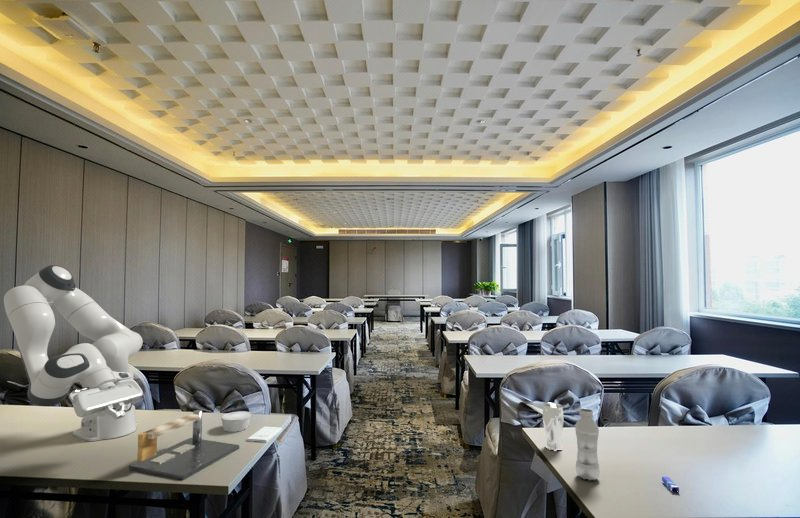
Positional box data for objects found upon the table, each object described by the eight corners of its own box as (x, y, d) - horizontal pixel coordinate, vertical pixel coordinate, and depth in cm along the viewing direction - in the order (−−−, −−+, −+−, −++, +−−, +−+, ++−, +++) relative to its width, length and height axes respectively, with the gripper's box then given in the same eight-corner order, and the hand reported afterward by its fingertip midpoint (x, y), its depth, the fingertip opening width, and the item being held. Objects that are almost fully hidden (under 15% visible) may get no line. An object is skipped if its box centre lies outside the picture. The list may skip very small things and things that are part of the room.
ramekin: (235, 422, 170) (235, 409, 170) (256, 425, 166) (257, 412, 166) (214, 431, 159) (214, 417, 160) (236, 435, 155) (236, 421, 155)
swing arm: (190, 436, 145) (191, 413, 145) (199, 437, 143) (199, 415, 144) (137, 460, 125) (138, 434, 126) (146, 462, 124) (147, 435, 124)
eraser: (671, 493, 112) (671, 486, 112) (662, 483, 118) (661, 476, 118) (679, 494, 112) (679, 487, 112) (669, 483, 118) (669, 476, 118)
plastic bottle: (571, 473, 123) (569, 407, 125) (592, 472, 124) (590, 406, 125) (582, 484, 117) (581, 414, 118) (605, 483, 118) (602, 413, 119)
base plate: (129, 469, 127) (130, 430, 127) (190, 440, 149) (191, 408, 150) (183, 480, 120) (184, 439, 120) (239, 448, 142) (239, 414, 143)
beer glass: (564, 446, 144) (563, 403, 145) (563, 453, 138) (562, 409, 139) (544, 442, 147) (543, 401, 148) (542, 450, 141) (541, 406, 142)
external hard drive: (282, 431, 160) (266, 444, 148) (263, 430, 162) (246, 442, 149) (282, 427, 160) (266, 439, 148) (263, 426, 162) (246, 438, 149)
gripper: (71, 385, 124) (91, 421, 121) (134, 371, 144) (153, 402, 140) (61, 398, 126) (81, 434, 122) (125, 383, 145) (143, 414, 141)
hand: (120, 417), depth 131 cm, fingers closed
